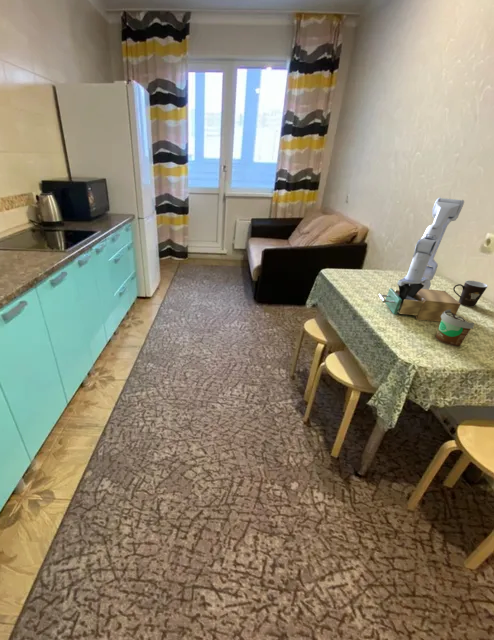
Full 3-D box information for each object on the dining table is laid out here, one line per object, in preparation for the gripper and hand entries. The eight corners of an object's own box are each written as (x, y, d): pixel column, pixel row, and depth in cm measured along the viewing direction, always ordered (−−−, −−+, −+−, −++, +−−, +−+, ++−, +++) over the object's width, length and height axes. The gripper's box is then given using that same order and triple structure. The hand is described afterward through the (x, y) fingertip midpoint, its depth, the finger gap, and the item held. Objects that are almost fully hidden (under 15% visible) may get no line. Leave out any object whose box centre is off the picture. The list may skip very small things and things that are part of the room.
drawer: (381, 313, 140) (386, 298, 137) (373, 301, 152) (378, 287, 148) (424, 317, 138) (431, 302, 135) (413, 305, 149) (419, 290, 146)
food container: (424, 332, 129) (435, 308, 123) (439, 332, 129) (450, 308, 124) (446, 348, 118) (459, 323, 113) (462, 348, 119) (475, 323, 113)
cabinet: (417, 319, 138) (425, 300, 134) (405, 305, 151) (412, 287, 146) (451, 322, 137) (460, 303, 132) (437, 308, 149) (445, 290, 145)
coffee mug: (478, 304, 156) (489, 284, 151) (475, 309, 150) (486, 288, 145) (450, 297, 162) (459, 277, 157) (446, 301, 157) (456, 281, 152)
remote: (409, 307, 139) (412, 301, 137) (391, 299, 146) (394, 292, 145) (416, 306, 140) (419, 300, 138) (398, 298, 147) (401, 291, 146)
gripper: (421, 265, 140) (410, 294, 148) (396, 267, 136) (385, 297, 143) (436, 270, 135) (423, 300, 142) (410, 272, 130) (398, 304, 138)
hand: (405, 299), depth 142 cm, fingers closed on remote, 4 cm apart
